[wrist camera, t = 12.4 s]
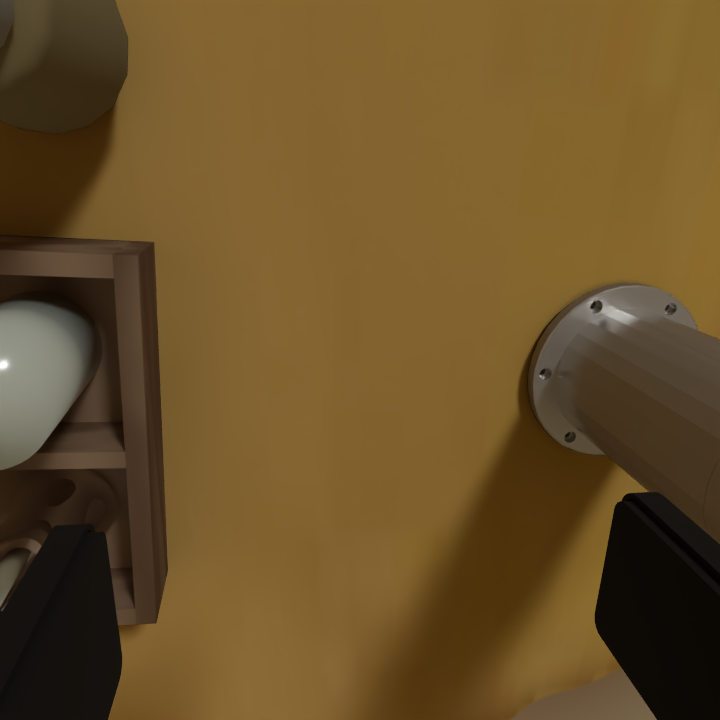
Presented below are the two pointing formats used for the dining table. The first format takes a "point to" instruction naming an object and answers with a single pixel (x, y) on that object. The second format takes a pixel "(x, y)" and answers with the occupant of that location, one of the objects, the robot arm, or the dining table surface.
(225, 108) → the dining table surface
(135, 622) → the carrier
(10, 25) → the squeeze bottle
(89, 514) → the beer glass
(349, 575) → the dining table surface
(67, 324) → the grey rounded piece
